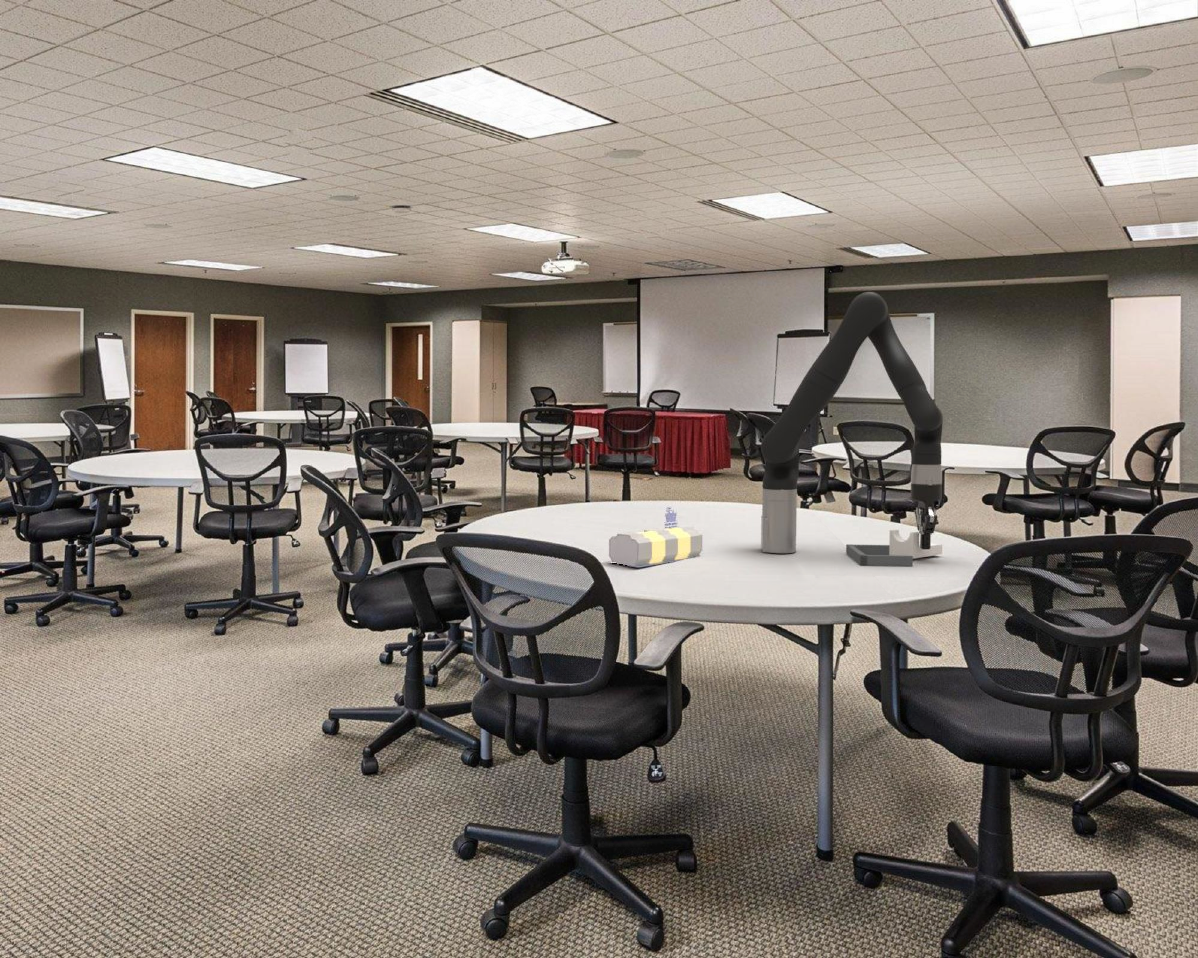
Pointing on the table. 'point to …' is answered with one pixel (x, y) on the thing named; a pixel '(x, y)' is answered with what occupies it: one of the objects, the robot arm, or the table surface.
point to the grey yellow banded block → (656, 545)
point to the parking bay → (877, 556)
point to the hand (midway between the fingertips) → (925, 548)
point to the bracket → (911, 546)
